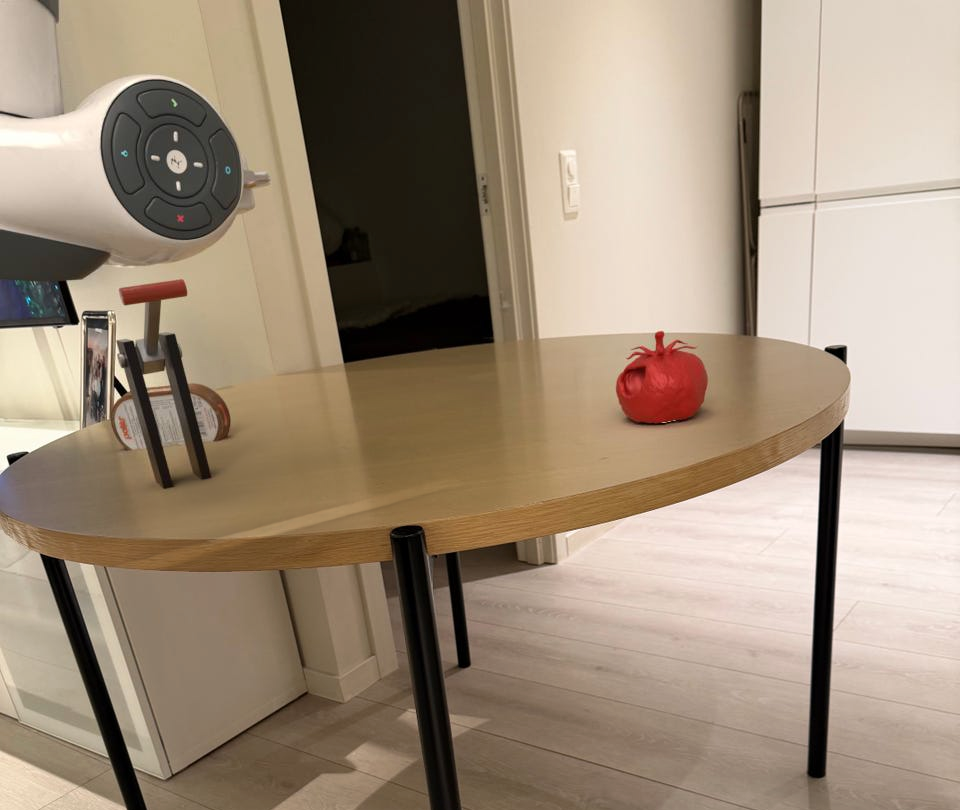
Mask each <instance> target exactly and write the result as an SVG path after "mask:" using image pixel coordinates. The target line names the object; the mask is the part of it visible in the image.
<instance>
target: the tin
mask: <svg viewBox="0 0 960 810" xmlns="http://www.w3.org/2000/svg"><path fill="white" fill-rule="evenodd" d="M188 386H189V390H190V394H191V398H192V402H193V406H194V410H195V414H196V418H197V422H198V426H199V430H200V434H201V438H202V442H203V443H208V442H209V443H210V442H211V443H212V442H219V441H221V440H223V439H224V438H227V437H228V435H229V433H230V429H231V425H232V423H231V422H232V421H231V414H230V410H229V408H228V405H227V404H226V401H224V398H222V396H220V394H219V393H218V392H217V391H216V390H214V389H212V388H211V387H209V386H207V385H204V384H201V383H195V382H191V383H189V382H188ZM146 388H147V392H148V395H149V399H150V402H151V406H152V410H153V413H154V417H155V421H156V424H157V428H158V432H159V435H160V439H161V443H162V446H163V447H172V446H180V445H186V444H185V441H184V437H183V433H182V429H181V425H180V422H179V418H178V414H177V410H176V406H175V403H174V399H173V395H172V391H171V387H170V385H161V386H160V385H159V386H150V387H146ZM109 417H110V425H111V429H112V431H113V433H114V435H115V437H116V440H117V441H118V442H119V443H120V445H121V446H122V447H123V448H125V450H128V451H134V450H142V449H147V448H146V445H145V441H144V438H143V434H142V431H141V427H140V424H139V420H138V417H137V413H136V409H135V406H134V402H133V399H132V395H131V392H130V390H129V391H127V392H126V393H125V394H123V395H122V396H121V397H120V398H118V399H117V400H116V401H115V403H114V404H113V406H112V408H111V411H110V416H109Z"/></svg>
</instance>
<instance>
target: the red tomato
mask: <svg viewBox="0 0 960 810" xmlns="http://www.w3.org/2000/svg"><path fill="white" fill-rule="evenodd" d="M664 337H665V332H664V331H663V330H659V331H656V332H655V333H654V340H655V349H654V350H651V349H649V348H647V347H646V346H643V345H641V346H637V347H634V348H631V349H630V350H631V351H633V352H632V353H631V354H630V355H629V356H628V357H625V359H626V360H631V359H632V358H633V357H635V356H638V357H636V358H635V359H634V360H633V361H631V362H630V363H628V364H627V365H626V366H625V368H624V369H623V371H622V372H621V373H620V374H619V375H618V377H617V379H616V383H615V393H616V396H617V399H618V404H619V405H620V407H621V410H622V413H624V414H625V415H626V416H627V418H628V419H630V420H631V421H633V422H636V423H639V422H646V423H645V424H651V423H654V424H658V423H662V422H668V421H673V420H682V421H684V420H687V419H690V418H692V417H694V416H695V414H696V413H697V412H698V411H699V409H700V408H701V407H702V405H703V404H704V402H705V398H706V393H707V389H708V385H709V378H708V377H709V376H708V372H707V369H706V367H705V363H704V362H703V360H702V359H701V358H700V357H699V356H698V355H696V354H694V353H691V352H688V351H683V350H682V349H690V350H691V349H692V350H695V349H697V348H698V346H690V345H687V343H686V342H684V341H682V340H680V339H675V340H674V341H672V342H670V343H669V344H668V345H666V346H665V345H664ZM677 343H678V344H682V345H683V346H679V347H675V346H676V345H677ZM637 349H638V350H639V349H640V350H642V351H643V352H641V351H634V350H637ZM683 419H684V420H683Z"/></svg>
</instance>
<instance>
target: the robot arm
mask: <svg viewBox="0 0 960 810" xmlns="http://www.w3.org/2000/svg"><path fill="white" fill-rule="evenodd" d="M59 22H60V0H0V280H7V281H19V282H20V281H21V282H67V281H79V280H81V281H82V280H84V279H85V278H87V277H88V276H90V275H91V274H93V273H94V272H96V271H97V270H98V269H99V268H101V267H102V266H106V265H107V266H111V267H116V268H127V269H128V268H138V267H139V268H140V267H147V266H148V267H149V266H154V265H165V264H172V263H177V262H180V261H184V260H187V259H190V258H192V257H195V256H197V255H199V254H201V253H203V252H205V251H206V250H208V249H209V248H211V247H213V246H214V245H215V244H216V243H218V242H219V241H220V240H221V239H222V238H223V237H224V236H225V235H226V234H227V232H228V231H229V230H230V228H231V227H232V225H233V223H234V221H235V219H236V217H237V216H240V215H243V214H245V213H248V212H250V211H252V210H253V209H254V208H255V207H256V201H255V196H254V191H253V190H254V189H261V188H264V187H267V186H270V185H271V182H270V181H271V176H270V175H269V172H268V171H257V172H254V171H253V170H249V167H248V163H247V159H246V156H245V155H243V154H241V151H240V148H239V144H238V142H237V140H236V137H235V134H234V133H233V130H232V129H231V127H230V125H229V124H228V122H227V120H226V118H224V115H223V114H222V113H221V111H220V110H219V109H218V108H217V107H216V105H215V104H214V103H213V102H212V101H210V99H208V97H206V96H205V95H204V94H203V93H201V91H199V90H198V89H197V88H194V87H193V86H192V85H190V84H188V83H187V82H185V81H182V80H180V79H177V78H174V77H172V76H168V75H163V74H155V73H154V74H153V73H144V74H143V73H142V74H141V73H140V74H133V75H127V76H124V77H120V78H118V79H115V80H112V81H110V82H108V83H106V84H104V85H102V86H100V87H99V88H97V89H96V90H94V91H93V92H92V93H90V94H89V95H88V96H86V98H85V99H83V101H81V102H80V103H78V105H77V106H76V107H75V108H74V110H73V111H70V112H67V113H65V105H64V94H63V84H62V74H61V62H60V52H59V51H60V50H59V41H58V30H57V24H59Z"/></svg>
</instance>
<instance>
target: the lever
mask: <svg viewBox="0 0 960 810" xmlns="http://www.w3.org/2000/svg"><path fill="white" fill-rule="evenodd" d="M187 289H188V288H187V284H186V283H185V281H184V279H183V278H181V279H172V280H166V281H158V282H152V283H145V284H138V285H130V286H124V287H119V288H118V293H119V298H120V300H121V304H122V305H123V306H131V305H138V304H144V321H143V322H144V323H143V325H144V326H143V338H139V339H135V340H134V344H135V348H136V351H137V355H138V359H139V362H140V366H141V370H142V373H143V376H145V375H149V374H155V373H161V372H166V368H165V360H166V358H165V355H164V352H163V349H162V347H161V344H160V341H159V333H160V323H161V310H162V309H161V307H162V301H165V300H166V301H167V300H172V299H178V298H185V297H188V290H187Z"/></svg>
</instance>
